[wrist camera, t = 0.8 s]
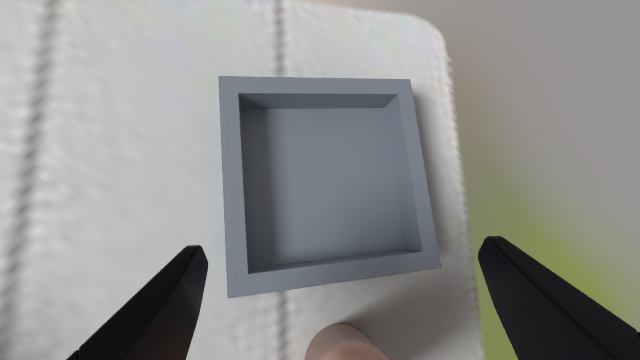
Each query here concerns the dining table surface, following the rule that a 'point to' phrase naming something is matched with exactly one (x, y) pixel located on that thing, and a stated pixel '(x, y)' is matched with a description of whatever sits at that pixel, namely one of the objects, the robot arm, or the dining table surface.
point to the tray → (321, 182)
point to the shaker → (342, 345)
